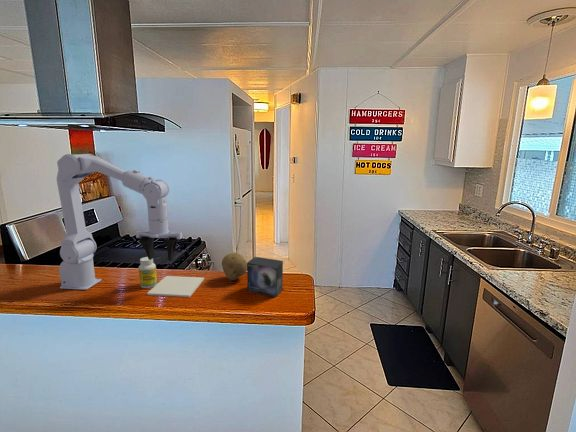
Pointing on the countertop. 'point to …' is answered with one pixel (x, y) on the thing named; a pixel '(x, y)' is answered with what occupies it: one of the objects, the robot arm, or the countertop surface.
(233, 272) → the natural sponge
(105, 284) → the countertop surface
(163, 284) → the mat
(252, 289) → the small box
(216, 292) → the countertop surface
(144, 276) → the supplement bottle
